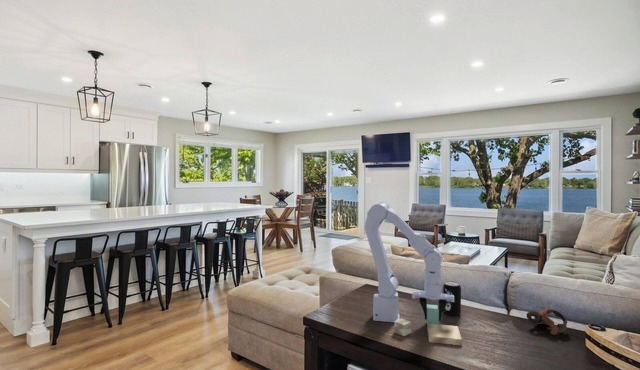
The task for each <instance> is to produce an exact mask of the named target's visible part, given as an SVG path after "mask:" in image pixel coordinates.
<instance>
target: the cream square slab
mask: <svg viewBox="0 0 640 370" xmlns="http://www.w3.org/2000/svg"><path fill="white" fill-rule="evenodd" d="M427 336H428V343H433V344H435V343H437V344H444V345H451V344H452V346H453V345H454V346H462V345H463V340H462V339H463V338H462V335H461V332H460V329H459V326H457V325H448V324H430V323H428V325H427Z"/></svg>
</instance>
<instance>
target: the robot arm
mask: <svg viewBox="0 0 640 370" xmlns="http://www.w3.org/2000/svg"><path fill="white" fill-rule="evenodd" d="M383 222H385V223H388V224H392V225H394V227H396V228H397V229H398V230H399V231H400V232H401V233H402V234H403V235H404V236H405V237H406V238H407V239H408V245H410V246H411V248H413V250H414V251H416V252H417V254H418V255H420V257H421V258H423V262H424V263H425V268H424V291H411V299H419V303H420V306H421V308H422V311H423V314H424V320H425V321H427V304H428V301H427V300H431V301H438V308H439V322H441V319H442V315H443V312H444V311H443V310H444V309H445V307H446V305H447V302H446V301H451V302H454V295H449V294H443V292H442V265H441V263H442V252H441V251H440V249H439V248H437V247H436V246H435V245H434V244H432V243H431V242H429V241H428V239H427V238H426V237H427V236H426V235H425V234H422V233H421V232H416V231H415V230H413V229H412V228H411V226H410V225H409V224H408V223H407V222H406V221H405V220H404V219H403V218H402V217H401V216H400V214H398V212H396V210H395V209H393V208H392V207H390V205H389V204H388V203H386V202H378V203H376V204H373V205H371V207H370V208H369V210H367V216H366V219H365V224H364V231H365V235H366V238H367V242H368V244H369V248H370V250H371V255H372V258H373V260H374V265H375V267H376V271H377V282H378V285H377V290H378V291H377V292H378V293H374V294H373V298H372V299H373V301H372V303H373V304H372V305H373V306H372V314H373V315H372V316H373V317H372V321H375V322H386V323H394V321H396V320H398V319H400V315H401V314H400V313H399V293H398V291H397V288H398V287H399V283H400V282H399V279H398V277H396V275H395V274H394V271H393V270H392V268H391V266H390V263H389V260H388V256H387V253H386V249H385V246H384V242H383V239H382V235H381V231H380V230H379V228H380V226H381V225H382V223H383Z"/></svg>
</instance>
